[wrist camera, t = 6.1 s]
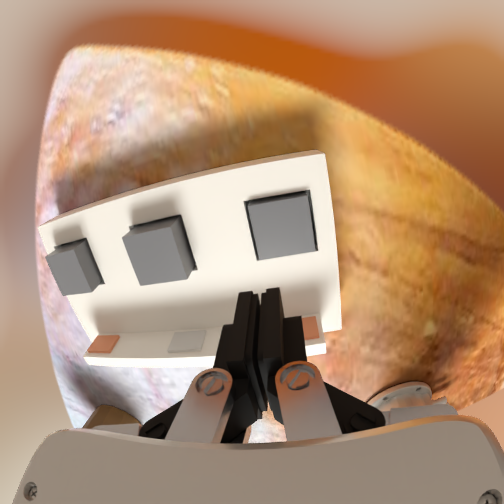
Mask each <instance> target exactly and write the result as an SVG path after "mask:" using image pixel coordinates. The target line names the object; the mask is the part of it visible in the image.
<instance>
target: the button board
mask: <svg viewBox="0 0 504 504" xmlns="http://www.w3.org/2000/svg"><path fill="white" fill-rule="evenodd" d="M304 190H305V192H306V194H307V196H308V201H309V208H310V215H311V222H312V229H313V236H314V244H315V251H314V252H307V253H301V254H295V255H289V256H283V257H277V258H271V259H264V260H259V256H258V252H257V247H256V242H255V238H254V233H253V229H252V224H251V220H250V215H249V211H248V203H249V200H252V199H257V198H263V197H269V196H274V195H280V194H286V193H292V192H298V191H304ZM178 215H182V219H183V222H184V226H185V229H186V233H187V236H188V239H189V243H190V246H191V249H192V252H193V256H194V259H195V262H196V264H195V266H194V268H193V270H192V272H191V274H190V276H189V278H188V279H187V280H180V281H173V282H166V283H159V284H151V285H144V286H140V284H139V282H138V279H137V277H136V274H135V272H134V269H133V267H132V264H131V261H130V259H129V256H128V254H127V251H126V248H125V245H124V243H123V240H122V237H123V236H124V235H126V234H127V233H128V232H129V231H130V230H132V229H133V228H134V227H135V226H136V225H139V224H143V223H147V222H151V221H156V220H160V219H164V218H169V217H173V216H178ZM38 230H39V233H40V236H41V238H42V241H43V244H44V246H45V249H46V251H47V254H48V255H49V254H50V253H51V252H53V251H54V250H55V249H57V248H58V247H60V246H61V245H63V244H66V243H70V242H73V241H77V240H81V239H84V238H87V240H88V243H89V246H90V248H91V251H92V253H93V256H94V258H95V261H96V263H97V266H98V268H99V270H100V273H101V275H102V277H103V281H102V282H101V283H100V284H99V285H98V287H97V288H96V289H95V290H94V291H93V292H91V293H83V294H75V295H67V298H68V300H69V302H70V304H71V306H72V308H73V310H74V312H75V313H76V315H77V317H78V319H79V321H80V323H81V324H82V326H83V328H84V330H85V332H86V333H87V335H88V337H89V338H90V340H91V342H92V344H91V346H90V347H89V348H88V350H87V352H86V353H85V355H84V356H83V357H84V359H85V360H86V362H87V363H88V365H98V366H117V367H199V366H214V361H215V357H216V353H217V348H218V344H219V340H220V335H221V331H222V327H223V325H225V324H233V320H234V315H235V310H236V304H237V299H238V294H239V292H246V291H253V294H257V293H258V296H259V300H260V305H261V293H265V292H266V289H268V288H276V287H279V288H280V292H281V298H282V304H283V310H284V316H285V318H287V317H294V316H302V323H303V331H304V339H305V348H306V356H312V355H318V354H324V353H326V343H325V338H324V333H323V332H329V331H335V330H340V329H342V327H341V302H340V284H339V269H338V257H337V245H336V235H335V225H334V216H333V208H332V200H331V192H330V185H329V178H328V171H327V164H326V158H325V153H323V152H321V151H318V150H309V151H303V152H296V153H290V154H284V155H278V156H272V157H267V158H262V159H256V160H251V161H246V162H241V163H236V164H232V165H227V166H222V167H218V168H213V169H209V170H205V171H201V172H196V173H192V174H188V175H184V176H180V177H177V178H173V179H169V180H165V181H162V182H158V183H154V184H151V185H147V186H144V187H141V188H137V189H134V190H130V191H127V192H124V193H121V194H118V195H114V196H111V197H108V198H105V199H102V200H99V201H96V202H93V203H90V204H87V205H85V206H82V207H79V208H76V209H73V210H71V211H68V212H65V213H63V214H60V215H58V216H56V217H54V218H53V219H51V220H49V221H47V222H45V223H44V224H42V225H40V226H39V227H38Z"/></svg>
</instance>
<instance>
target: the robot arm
mask: <svg viewBox="0 0 504 504" xmlns="http://www.w3.org/2000/svg"><path fill="white" fill-rule="evenodd" d="M431 398H432V391H431V389H430V387H429V386H428V385H427V384H426V383H424V382H407V383H403V384H399V385H396V386H394V387H391V388H389V389H387V390H385V391H383V392H381V393H380V394H378V395H376V396H375V397H374V398H372V399H371V400H370V401H369V402H368V403H365V402H363V401H361V400H359V399H357V398H355V397H353V396H351V395H349V394H347V393H345V392H343V391H341V390H339V389H337V388H335V387H333V386H331V385H329V384H328V383H326V382H324V381H323V379H322V377H321V374H320V371H319V370H318V368H317V367H316V366H315V365H314V364H312V363H310V362H307V356H306V348H305V339H304V331H303V323H302V316H294V317H287V318H285V316H284V310H283V304H282V298H281V292H280V288H279V287H276V288H268V289H266V292H265V293H261V305H260V300H259V296H258V293H257V294H253V291H246V292H239V294H238V299H237V304H236V310H235V315H234V320H233V324H225V325H223V327H222V331H221V335H220V340H219V344H218V348H217V353H216V357H215V361H214V366H213V368H211V369H207V370H204V371H202V372H201V373H199V374H198V375H197V376H196V377H195V378H194V379H193V381H192V383H191V385H190V387H189V389H188V391H187V393H186V395H185V397H184V399H182V400H181V401H179V402H178V403H176V404H175V405H173V406H171V407H170V408H168V409H167V410H165V411H163V412H162V413H160V414H158V415H157V416H155V417H153V418H152V419H150V420H148V421H147V422H146V423H145V424H144V425H140V424H139V423H134V424H119V425H99V426H95V427H93V428H92V429H85V428H72V429H65V430H59V431H56V432H53V433H51V434H49V435H48V436H47V437H46V438H45V439H44V440H43V441H42V443H41V444H40V445H39V447H38V449H37V450H36V452H35V453H34V455H33V457H32V459H31V461H30V463H29V465H28V467H27V469H26V471H25V473H24V475H23V478H22V480H21V482H20V485H19V487H18V490H17V493H16V495H15V498H14V500H13V503H12V504H504V452H503V450H502V448H501V446H500V443H499V442H498V440H497V438H496V437H495V435H494V433H493V432H492V430H491V429H490V428H489V427H488V425H486V423H484V422H483V421H481V420H480V419H478V418H475V417H471V416H464V415H458V414H457V411H456V410H455V409H454V408H453V407H452V406H450V405H449V403H448V402H447V399H446V397H445V396H444V397H441V398H438V399H437V400H431ZM268 402H269V405H270V409H271V411H273V415H274V418H275V419H276V420H277V421H278V422H280V423H281V424H283V425H284V428H285V433H286V438H287V441H286V442H272V443H248V441H249V437H250V433H251V425H252V424H253V423H254V422H255V421H257V419H262V411H267V407H268Z"/></svg>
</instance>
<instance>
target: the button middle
mask: <svg viewBox="0 0 504 504" xmlns="http://www.w3.org/2000/svg"><path fill="white" fill-rule="evenodd" d="M122 240H123V243H124V245H125V248H126V251H127V254H128V256H129V259H130V261H131V264H132V267H133V269H134V272H135V274H136V277H137V279H138V282H139V284H140V286H144V285H151V284H159V283H166V282H173V281H180V280H187V279H188V278H189V276H190V274H191V272H192V270H193V268H194V266H195V264H196V262H195V259H194V256H193V252H192V249H191V246H190V243H189V239H188V236H187V233H186V229H185V226H184V222H183V219H182V215H178V216H173V217H169V218H164V219H160V220H156V221H151V222H147V223H143V224H139V225H136V226H135V227H134V228H133V229H132V230H130V231H129V232H128V233H127V234H126V235H124V236H123V237H122Z"/></svg>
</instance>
